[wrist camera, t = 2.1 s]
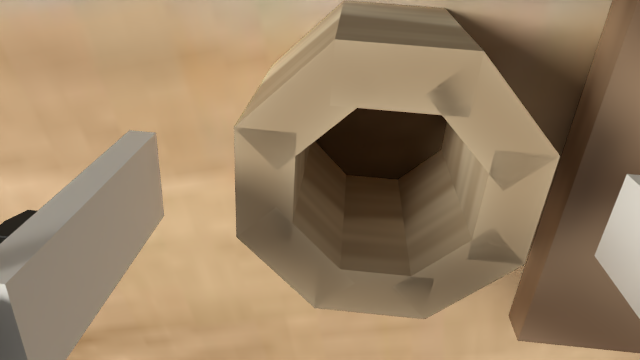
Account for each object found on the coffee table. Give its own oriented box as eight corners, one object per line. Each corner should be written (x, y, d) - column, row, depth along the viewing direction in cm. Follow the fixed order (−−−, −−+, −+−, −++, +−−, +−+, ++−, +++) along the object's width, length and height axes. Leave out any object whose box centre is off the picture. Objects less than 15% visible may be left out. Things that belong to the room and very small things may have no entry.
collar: (273, -5, 17) (231, 31, 11) (517, 13, 16) (591, 59, 11) (270, 201, 20) (237, 300, 15) (466, 220, 20) (503, 327, 15)
